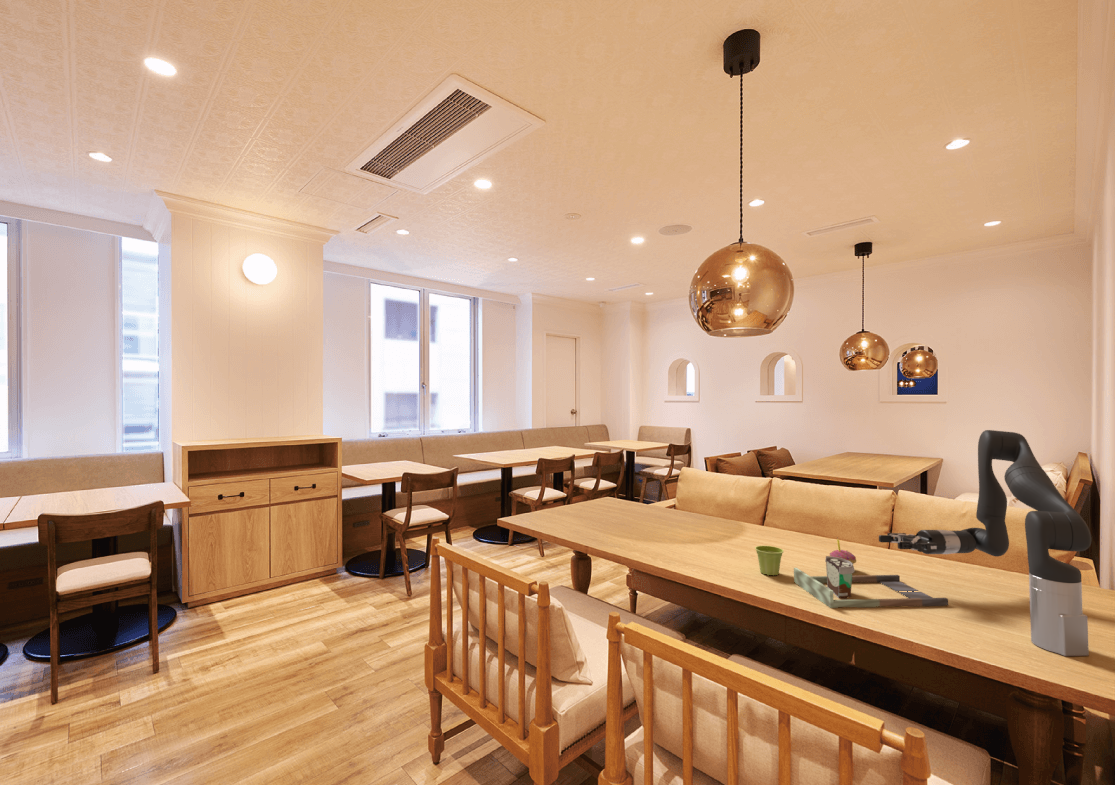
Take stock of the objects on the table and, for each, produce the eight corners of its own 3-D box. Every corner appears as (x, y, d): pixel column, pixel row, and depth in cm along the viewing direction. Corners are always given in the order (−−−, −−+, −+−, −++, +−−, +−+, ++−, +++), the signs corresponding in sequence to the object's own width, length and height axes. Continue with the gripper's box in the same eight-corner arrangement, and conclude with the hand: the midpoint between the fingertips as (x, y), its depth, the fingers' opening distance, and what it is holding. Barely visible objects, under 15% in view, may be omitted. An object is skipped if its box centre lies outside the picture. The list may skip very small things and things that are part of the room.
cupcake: (842, 575, 174) (841, 540, 174) (823, 567, 182) (823, 534, 183) (862, 572, 176) (861, 539, 177) (842, 565, 184) (842, 533, 185)
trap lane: (948, 605, 147) (947, 588, 147) (830, 608, 146) (829, 591, 146) (897, 580, 168) (897, 565, 168) (794, 582, 167) (793, 567, 167)
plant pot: (757, 567, 183) (757, 544, 183) (785, 571, 178) (785, 547, 178) (753, 575, 175) (752, 550, 175) (782, 579, 170) (781, 554, 170)
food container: (862, 601, 151) (861, 568, 151) (840, 600, 152) (840, 567, 152) (845, 586, 163) (845, 556, 163) (825, 585, 164) (825, 555, 164)
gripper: (920, 525, 165) (873, 525, 165) (956, 535, 151) (904, 535, 150) (920, 547, 165) (873, 548, 164) (957, 560, 151) (905, 560, 150)
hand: (888, 542), depth 157 cm, fingers open, 8 cm apart
